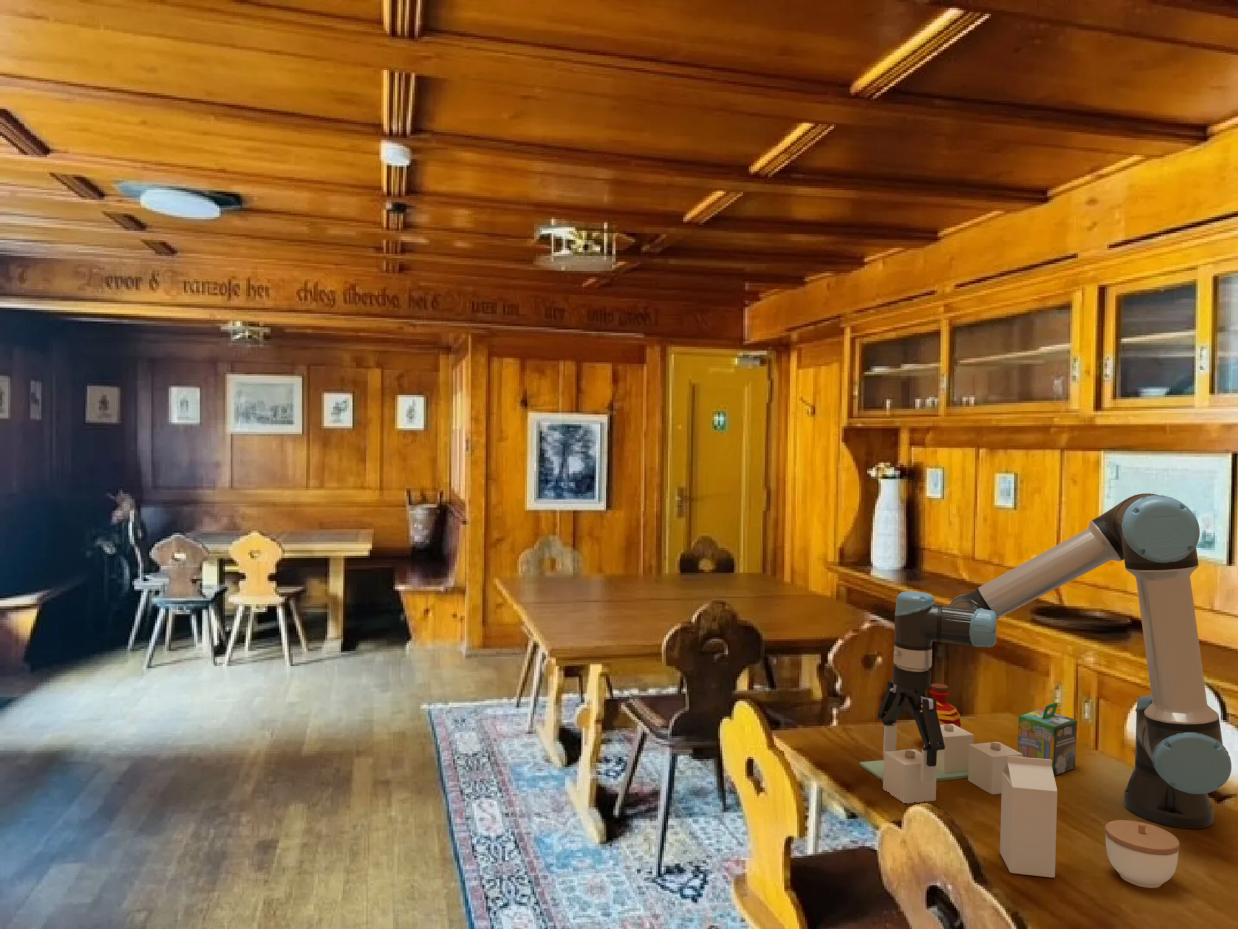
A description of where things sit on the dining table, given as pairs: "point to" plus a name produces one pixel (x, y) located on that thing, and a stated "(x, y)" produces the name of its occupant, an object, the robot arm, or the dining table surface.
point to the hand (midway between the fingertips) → (907, 767)
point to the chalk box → (1048, 738)
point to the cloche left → (907, 777)
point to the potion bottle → (944, 706)
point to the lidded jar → (1141, 852)
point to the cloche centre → (954, 749)
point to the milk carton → (1028, 816)
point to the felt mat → (878, 771)
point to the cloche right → (989, 765)
